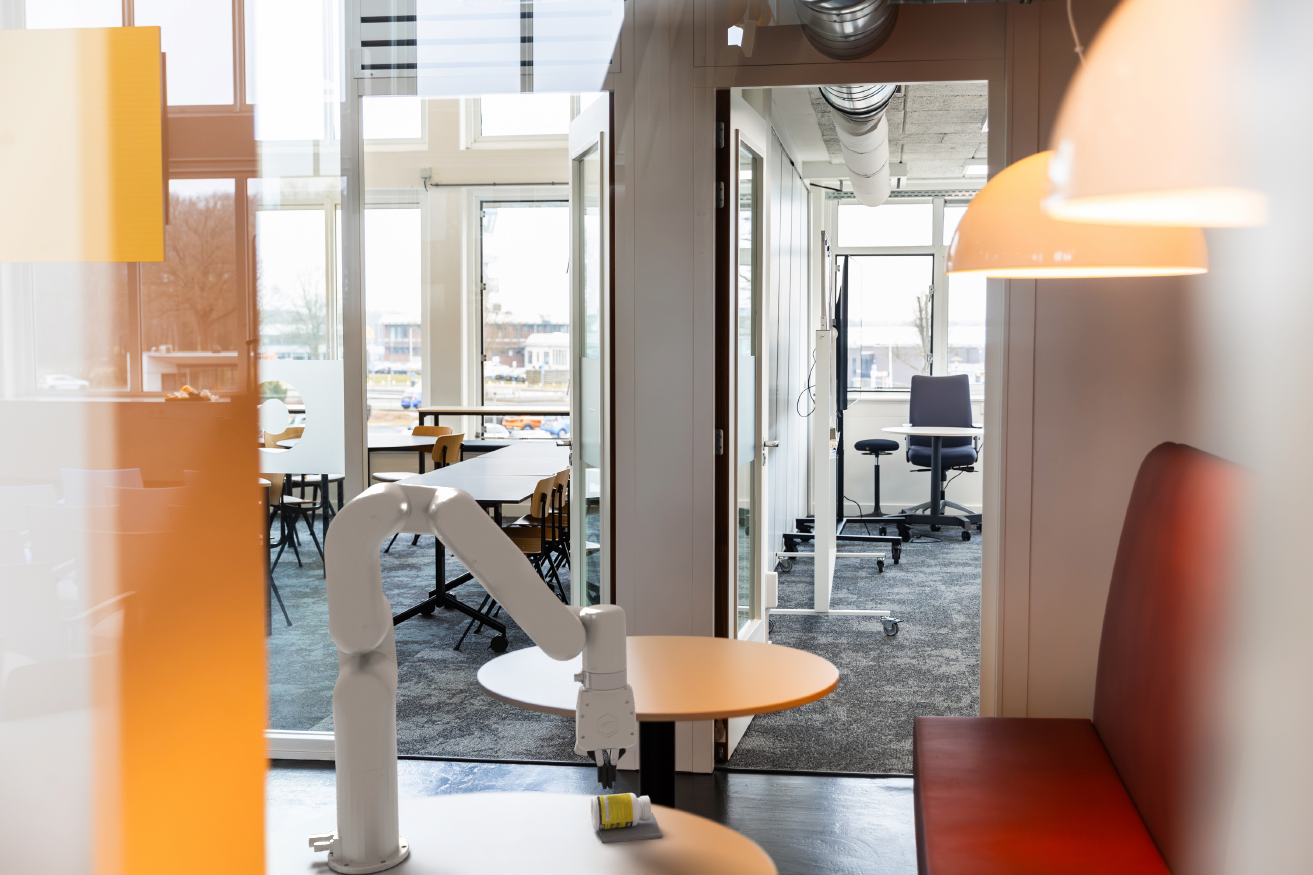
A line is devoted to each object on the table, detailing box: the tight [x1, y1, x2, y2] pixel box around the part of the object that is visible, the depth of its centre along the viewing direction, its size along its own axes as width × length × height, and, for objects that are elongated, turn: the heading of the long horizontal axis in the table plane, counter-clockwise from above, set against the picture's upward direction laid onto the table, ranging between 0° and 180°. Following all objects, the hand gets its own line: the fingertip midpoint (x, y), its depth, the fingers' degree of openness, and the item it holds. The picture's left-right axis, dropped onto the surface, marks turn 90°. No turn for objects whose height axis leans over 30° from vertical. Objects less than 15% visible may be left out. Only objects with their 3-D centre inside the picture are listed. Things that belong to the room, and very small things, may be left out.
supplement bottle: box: [590, 792, 652, 831], centre depth 164 cm, size 5×5×10 cm
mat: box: [598, 812, 663, 844], centre depth 164 cm, size 10×9×1 cm
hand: (606, 785), depth 163 cm, fingers closed
